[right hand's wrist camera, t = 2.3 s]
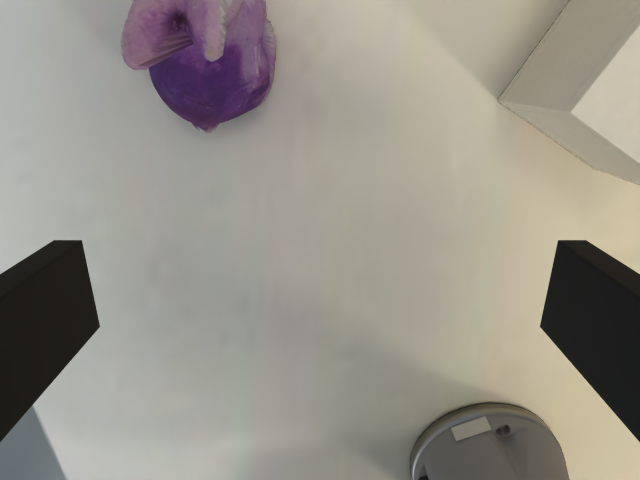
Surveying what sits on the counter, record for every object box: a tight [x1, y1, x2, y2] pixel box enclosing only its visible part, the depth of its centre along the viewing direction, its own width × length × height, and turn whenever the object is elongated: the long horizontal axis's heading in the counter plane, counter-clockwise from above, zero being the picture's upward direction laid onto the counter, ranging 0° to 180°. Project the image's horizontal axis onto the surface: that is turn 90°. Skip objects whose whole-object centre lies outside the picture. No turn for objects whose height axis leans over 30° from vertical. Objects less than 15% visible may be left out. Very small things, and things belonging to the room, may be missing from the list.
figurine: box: [121, 0, 276, 133], centre depth 24 cm, size 9×10×15 cm
